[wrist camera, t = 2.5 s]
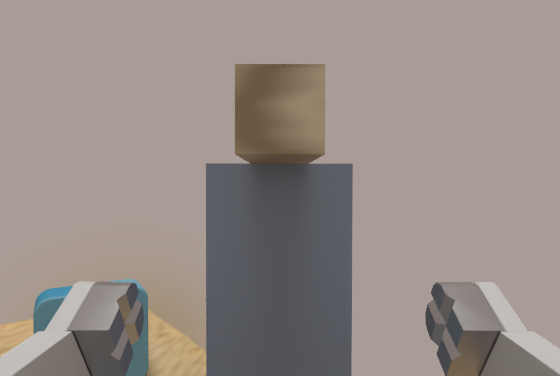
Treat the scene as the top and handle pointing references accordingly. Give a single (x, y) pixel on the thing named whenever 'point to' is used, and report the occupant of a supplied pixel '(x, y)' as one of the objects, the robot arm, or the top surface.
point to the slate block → (278, 269)
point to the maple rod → (279, 113)
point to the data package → (54, 297)
